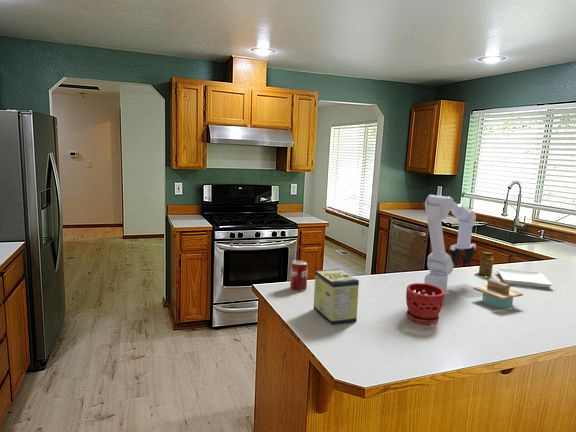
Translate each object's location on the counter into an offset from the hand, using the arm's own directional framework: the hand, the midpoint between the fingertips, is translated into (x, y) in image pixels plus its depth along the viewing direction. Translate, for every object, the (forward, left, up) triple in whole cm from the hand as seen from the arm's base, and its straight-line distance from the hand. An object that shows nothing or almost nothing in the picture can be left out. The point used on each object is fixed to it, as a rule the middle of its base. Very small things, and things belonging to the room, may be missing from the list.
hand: (461, 264), depth 193 cm
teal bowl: (-5, -24, -10) cm, 27 cm away
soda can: (-75, +21, -11) cm, 79 cm away
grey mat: (-4, -8, -10) cm, 14 cm away
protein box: (-76, -10, -11) cm, 77 cm away
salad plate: (+37, -6, -11) cm, 39 cm away
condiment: (+27, +8, -11) cm, 30 cm away
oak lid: (-5, -24, -5) cm, 25 cm away
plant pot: (-47, -25, -11) cm, 54 cm away
